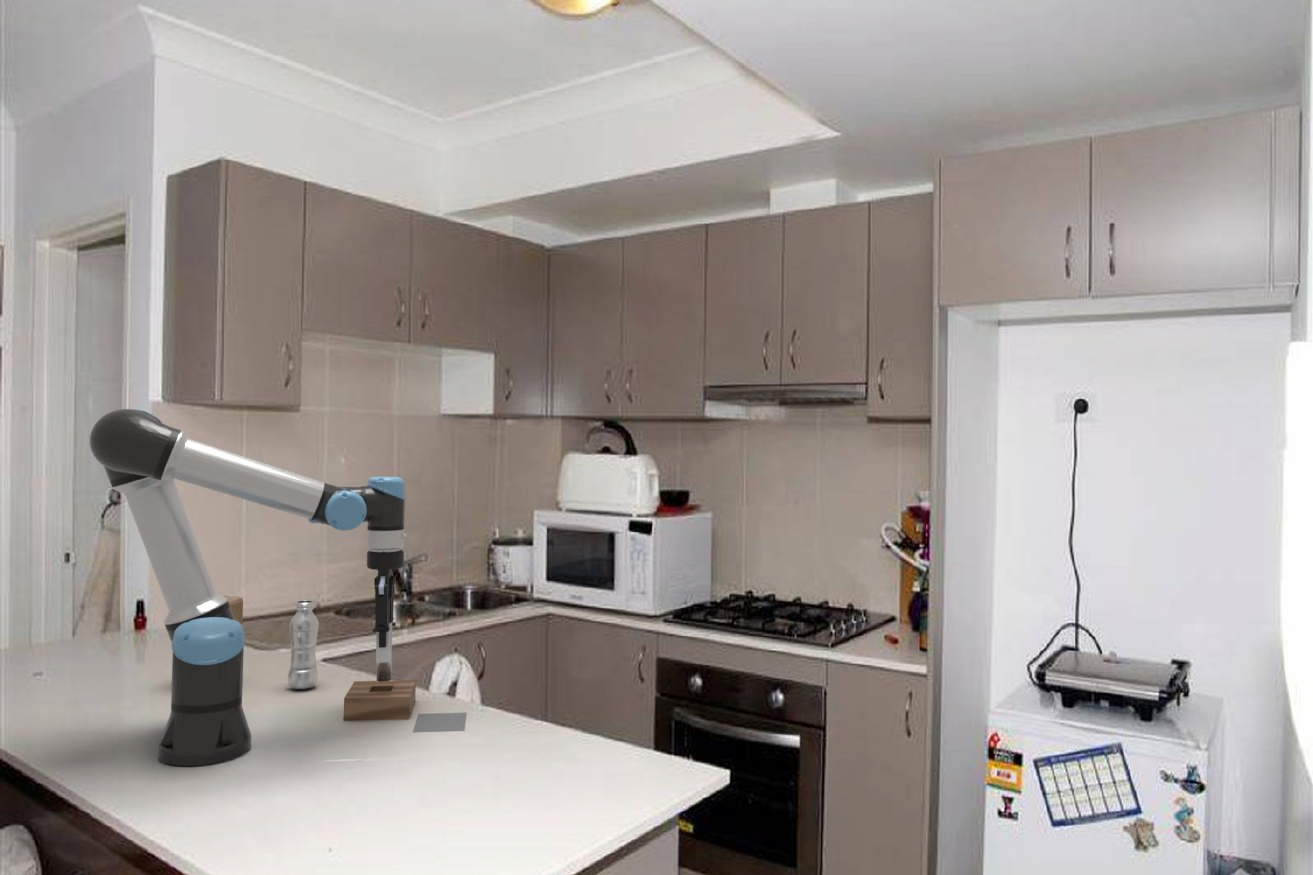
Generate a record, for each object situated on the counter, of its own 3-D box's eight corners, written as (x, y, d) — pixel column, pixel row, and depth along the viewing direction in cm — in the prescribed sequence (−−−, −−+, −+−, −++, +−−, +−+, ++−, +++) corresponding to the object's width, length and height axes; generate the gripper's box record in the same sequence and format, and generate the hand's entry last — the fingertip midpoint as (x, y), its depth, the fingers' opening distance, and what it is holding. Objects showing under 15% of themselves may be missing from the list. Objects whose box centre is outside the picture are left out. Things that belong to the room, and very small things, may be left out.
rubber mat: (464, 732, 178) (464, 730, 178) (412, 733, 176) (412, 731, 176) (466, 714, 190) (466, 712, 190) (418, 715, 188) (418, 713, 188)
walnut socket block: (409, 720, 184) (409, 696, 184) (343, 722, 182) (344, 697, 182) (415, 702, 197) (415, 679, 197) (353, 703, 195) (354, 681, 195)
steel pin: (390, 681, 189) (391, 624, 189) (375, 681, 188) (376, 624, 188) (392, 677, 192) (393, 621, 192) (377, 677, 191) (378, 621, 191)
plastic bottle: (322, 685, 209) (325, 599, 209) (308, 693, 202) (311, 604, 202) (296, 683, 210) (299, 598, 210) (281, 691, 203) (284, 603, 203)
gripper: (399, 554, 183) (397, 668, 183) (407, 544, 198) (406, 650, 198) (361, 554, 181) (359, 670, 181) (372, 545, 197) (371, 651, 197)
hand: (383, 659), depth 190 cm, fingers closed on steel pin, 3 cm apart
